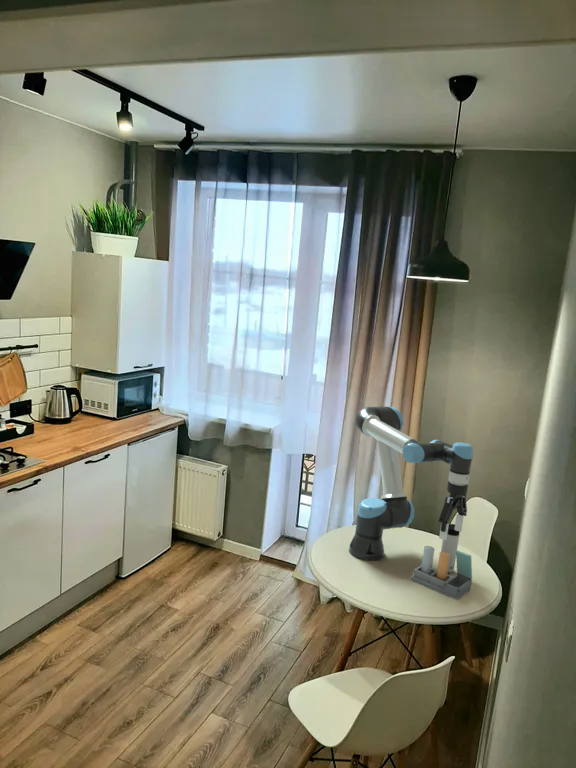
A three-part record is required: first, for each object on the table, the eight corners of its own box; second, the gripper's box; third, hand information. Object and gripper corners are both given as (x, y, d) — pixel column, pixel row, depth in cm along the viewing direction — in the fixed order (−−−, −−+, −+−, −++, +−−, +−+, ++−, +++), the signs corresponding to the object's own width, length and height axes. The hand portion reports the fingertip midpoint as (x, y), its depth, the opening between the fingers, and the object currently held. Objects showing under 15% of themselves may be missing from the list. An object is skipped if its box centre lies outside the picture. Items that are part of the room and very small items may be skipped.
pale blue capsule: (418, 575, 230) (422, 547, 228) (423, 572, 233) (427, 545, 232) (427, 579, 228) (431, 551, 226) (432, 576, 231) (436, 548, 229)
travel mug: (455, 575, 236) (462, 529, 233) (438, 572, 237) (445, 526, 235) (453, 568, 242) (460, 524, 239) (437, 565, 244) (444, 521, 241)
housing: (410, 579, 228) (411, 569, 228) (423, 570, 237) (424, 561, 237) (457, 599, 216) (459, 589, 215) (470, 589, 225) (471, 579, 224)
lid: (456, 551, 223) (457, 550, 223) (457, 574, 228) (458, 572, 229) (470, 557, 219) (471, 555, 220) (471, 580, 224) (472, 578, 225)
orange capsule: (433, 582, 226) (438, 553, 224) (438, 579, 229) (442, 550, 227) (443, 586, 223) (447, 557, 222) (447, 582, 227) (451, 554, 225)
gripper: (453, 491, 209) (445, 546, 212) (480, 480, 228) (472, 530, 231) (434, 485, 214) (426, 539, 217) (462, 475, 233) (455, 524, 236)
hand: (450, 534), depth 224 cm, fingers open, 13 cm apart
